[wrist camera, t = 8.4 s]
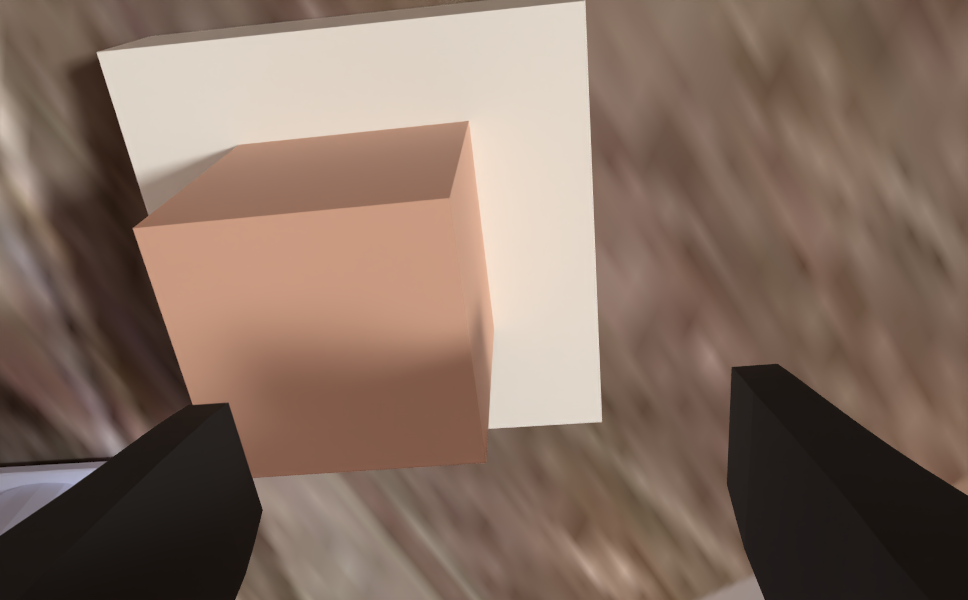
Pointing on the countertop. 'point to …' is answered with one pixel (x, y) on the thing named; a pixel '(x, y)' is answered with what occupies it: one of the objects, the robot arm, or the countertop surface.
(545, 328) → the base pad
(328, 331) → the terracotta cube
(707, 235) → the countertop surface
